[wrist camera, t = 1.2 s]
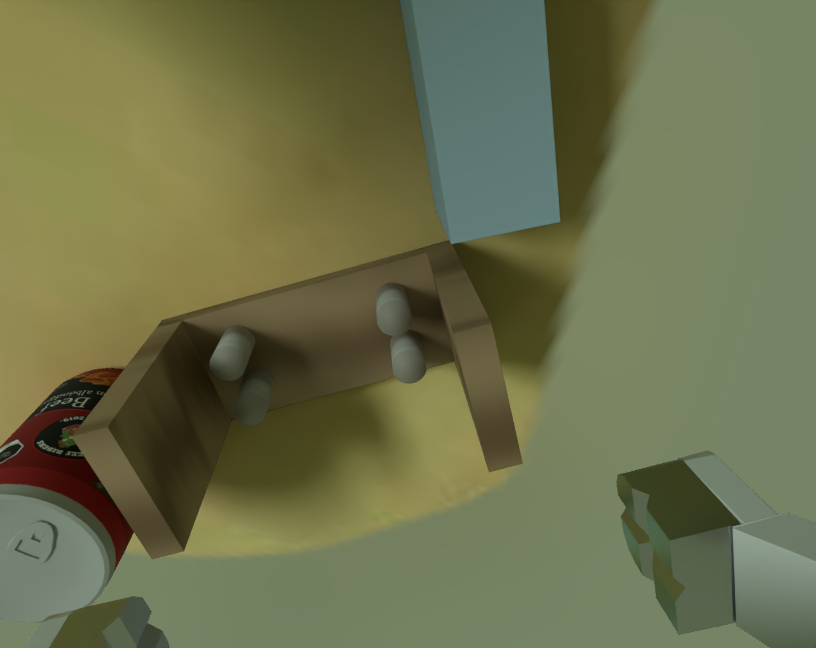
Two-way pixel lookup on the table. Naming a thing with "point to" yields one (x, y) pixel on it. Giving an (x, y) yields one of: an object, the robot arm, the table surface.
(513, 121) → the pale blue block
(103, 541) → the canned food
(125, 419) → the peg stand
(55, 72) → the table surface
